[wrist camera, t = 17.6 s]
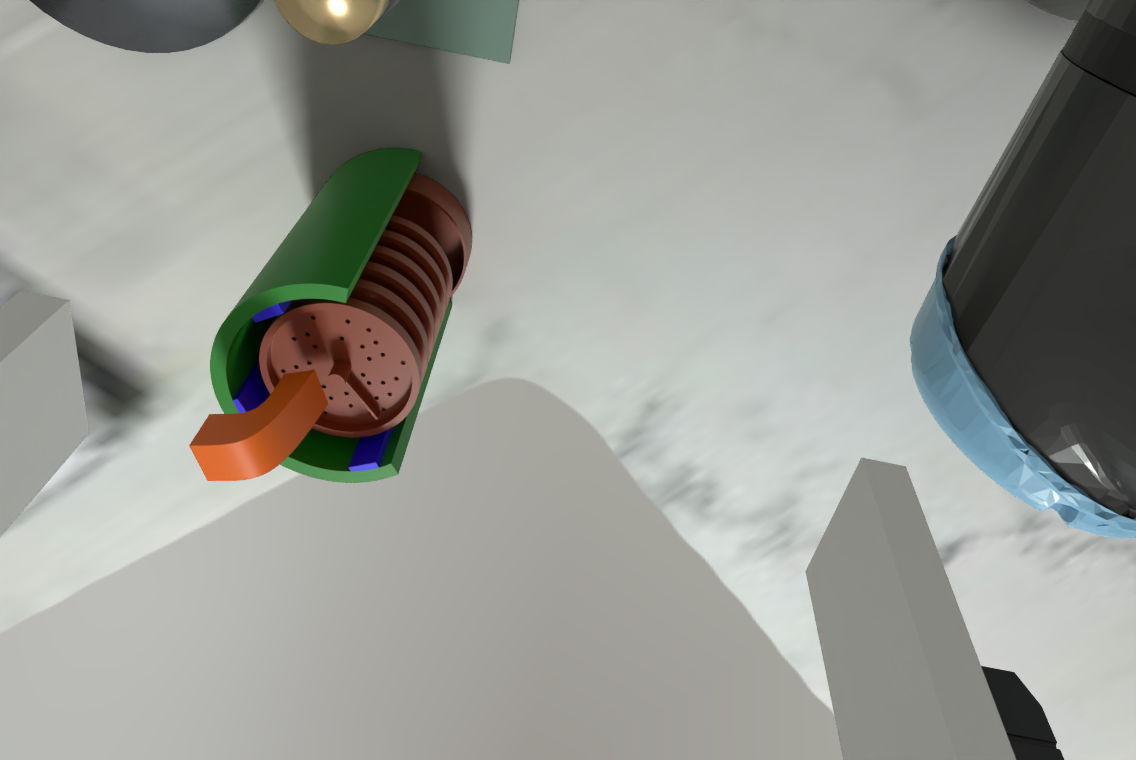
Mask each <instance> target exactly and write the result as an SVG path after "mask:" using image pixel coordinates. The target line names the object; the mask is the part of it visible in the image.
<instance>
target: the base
mask: <svg viewBox="0 0 1136 760" xmlns="http://www.w3.org/2000/svg"><path fill="white" fill-rule="evenodd" d="M30 1H31V2H32V3H34V4H35V5H36V6H37V7H38V8H40V9H41V10H42V11H43V12H45V13H46V14H48V15H49V16H51V17H52V18H54V19H56V20H57V21H59V22H60V23H62V24H63V25H65V26H67V27H69V28H71V29H72V30H74V31H76V32H78V33H80V34H82V35H84V36H86V37H89V38H91V39H94V40H96V41H99V42H101V43H104V44H107V45H110V46H114V47H118V48H122V49H125V50H131V51H139V52H146V53H170V52H177V51H184V50H189V49H192V48H195V47H199V46H202V45H205V44H207V43H209V42H212V41H214V40H216V39H218V38H220V37H222V36H223V35H225V34H227V33H228V32H230V31H231V30H233V29H234V28H236V27H237V26H238V25H240V24H241V23H243V22H244V21H245V20H246V19H247V18H248V17H249V16H250V15H251V14H252V13H253V12H254V11H255V10H256V9H257V8H258V7H259V6H260V5H261V3H262V2H263V1H264V0H30Z"/></svg>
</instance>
